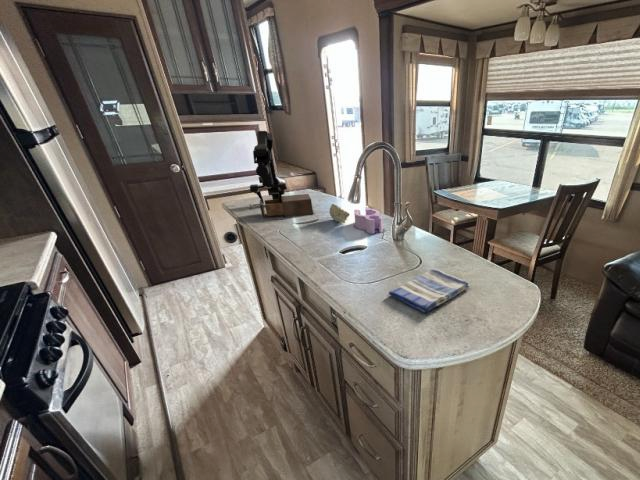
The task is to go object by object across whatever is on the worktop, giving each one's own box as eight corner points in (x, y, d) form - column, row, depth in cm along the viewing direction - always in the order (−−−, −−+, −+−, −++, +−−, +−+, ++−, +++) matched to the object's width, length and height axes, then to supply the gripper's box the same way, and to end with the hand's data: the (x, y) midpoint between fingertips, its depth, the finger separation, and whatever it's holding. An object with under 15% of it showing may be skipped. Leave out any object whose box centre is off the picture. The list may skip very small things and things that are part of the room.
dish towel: (470, 288, 112) (471, 281, 111) (426, 315, 98) (427, 308, 96) (432, 272, 122) (432, 265, 121) (387, 295, 108) (387, 288, 107)
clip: (388, 230, 161) (388, 217, 158) (366, 235, 156) (365, 221, 153) (372, 219, 176) (371, 207, 172) (351, 223, 171) (349, 210, 167)
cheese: (332, 220, 181) (319, 209, 167) (339, 209, 181) (327, 197, 167) (352, 233, 177) (341, 223, 163) (360, 222, 177) (349, 211, 162)
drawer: (251, 218, 175) (248, 206, 172) (251, 212, 184) (248, 200, 181) (289, 214, 181) (287, 202, 178) (288, 209, 190) (286, 197, 187)
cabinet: (285, 217, 180) (282, 201, 176) (283, 210, 190) (280, 196, 186) (313, 214, 185) (311, 199, 180) (310, 208, 195) (308, 193, 190)
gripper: (283, 170, 181) (288, 198, 189) (247, 172, 176) (254, 200, 184) (284, 173, 172) (289, 202, 180) (246, 175, 167) (253, 206, 175)
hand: (271, 203), depth 180 cm, fingers open, 8 cm apart
